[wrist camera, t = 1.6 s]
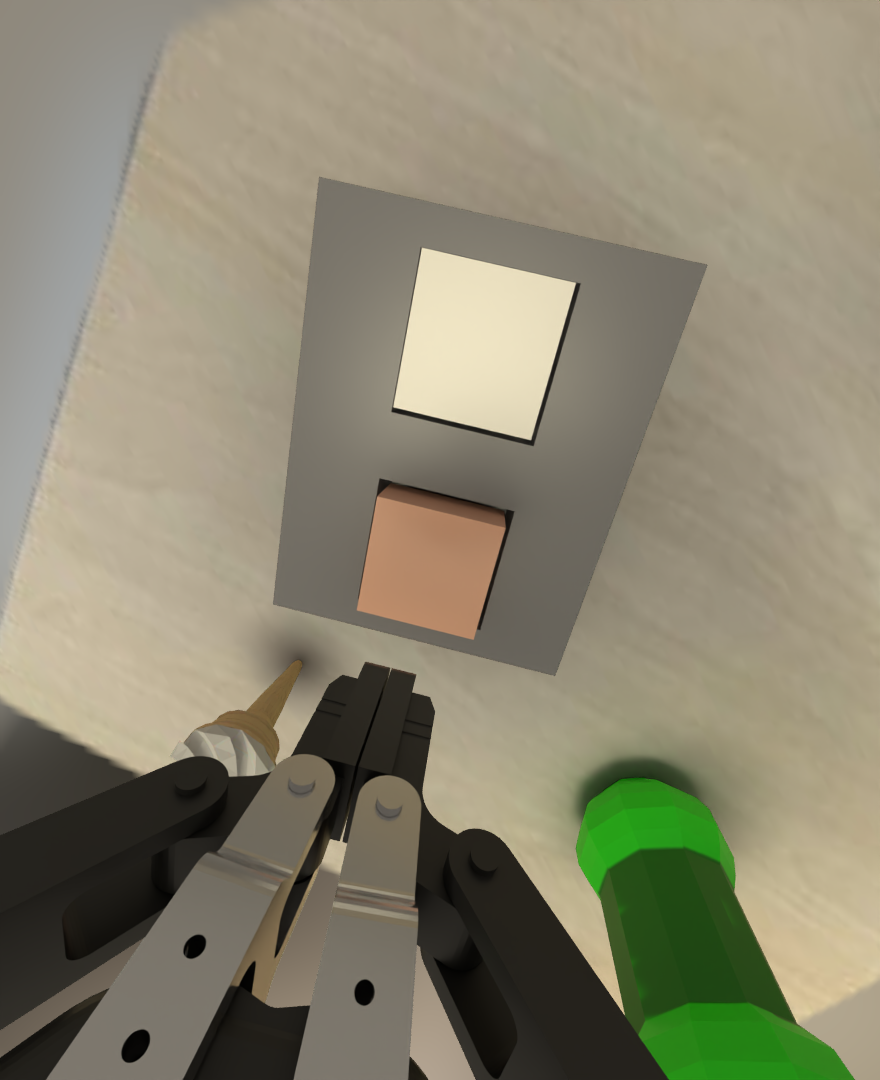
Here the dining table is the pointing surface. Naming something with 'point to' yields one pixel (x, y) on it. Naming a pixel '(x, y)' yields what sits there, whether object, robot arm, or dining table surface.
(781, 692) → the dining table surface
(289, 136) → the dining table surface
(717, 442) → the dining table surface
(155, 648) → the dining table surface
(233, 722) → the ice cream cone
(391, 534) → the terracotta key
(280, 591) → the block
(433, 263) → the white key
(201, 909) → the robot arm
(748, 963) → the plastic bottle
